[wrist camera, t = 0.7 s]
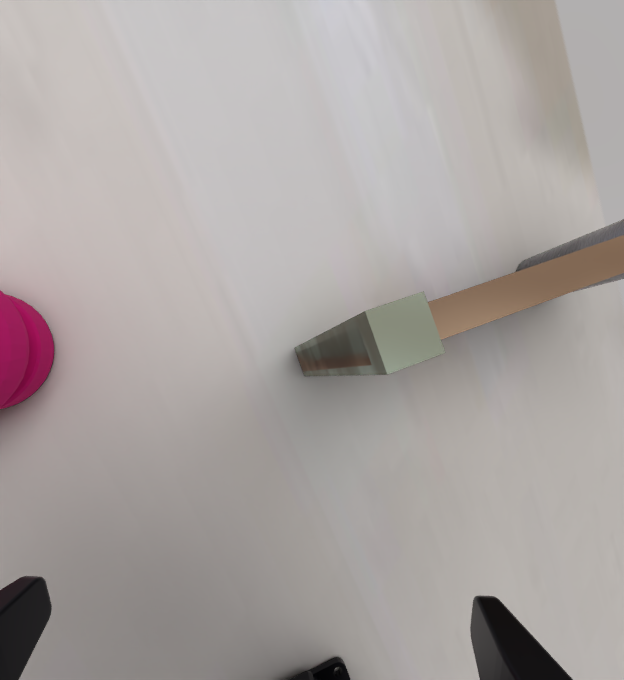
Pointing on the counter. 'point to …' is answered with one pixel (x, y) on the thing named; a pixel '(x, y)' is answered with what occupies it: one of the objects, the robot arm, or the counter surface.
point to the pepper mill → (22, 350)
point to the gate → (449, 315)
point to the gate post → (578, 244)
